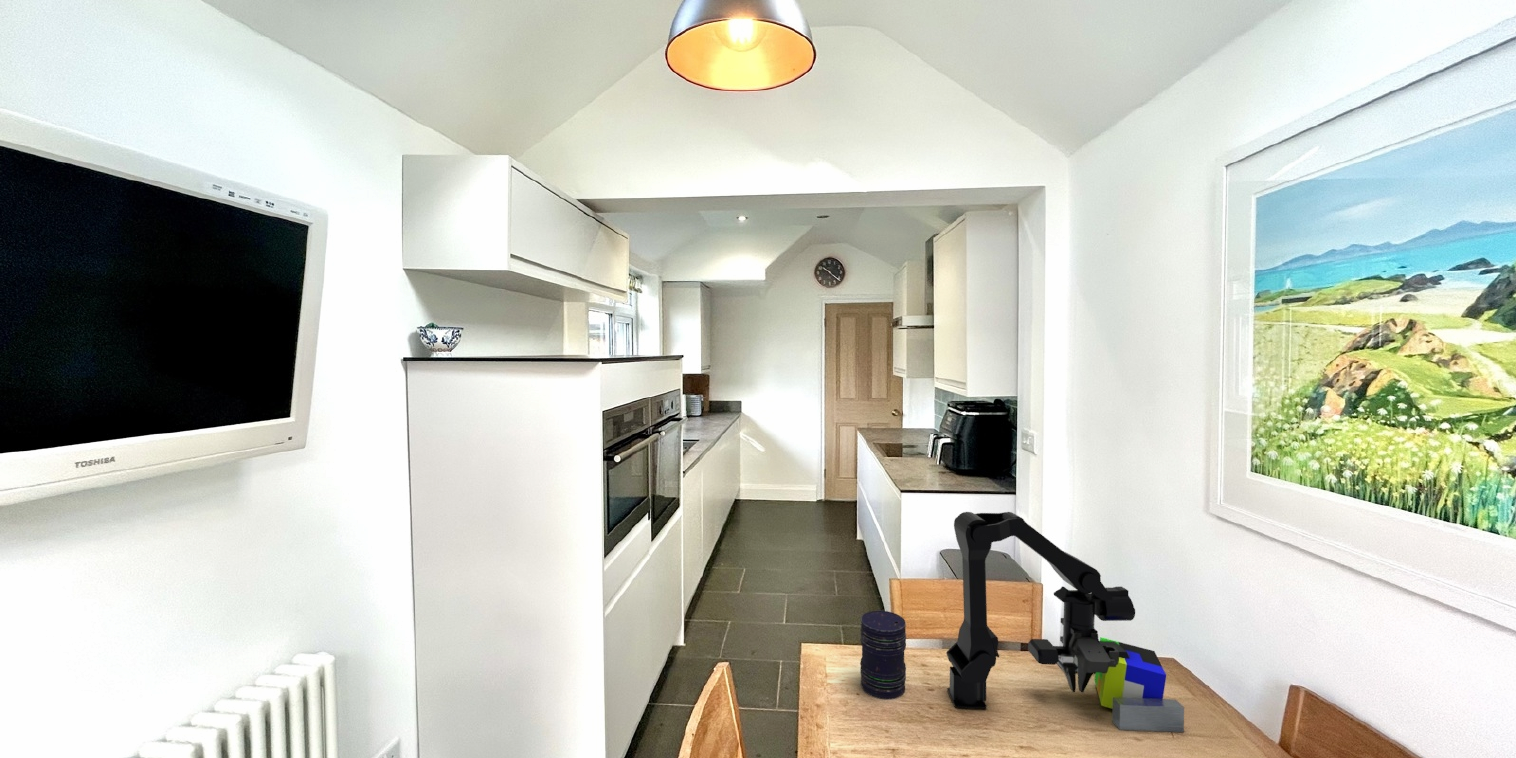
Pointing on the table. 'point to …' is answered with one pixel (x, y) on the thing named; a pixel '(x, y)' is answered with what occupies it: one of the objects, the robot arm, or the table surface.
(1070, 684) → the robot arm
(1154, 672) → the puzzle toy
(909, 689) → the table surface
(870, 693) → the storage jar
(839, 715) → the table surface
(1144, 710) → the grey rail base
